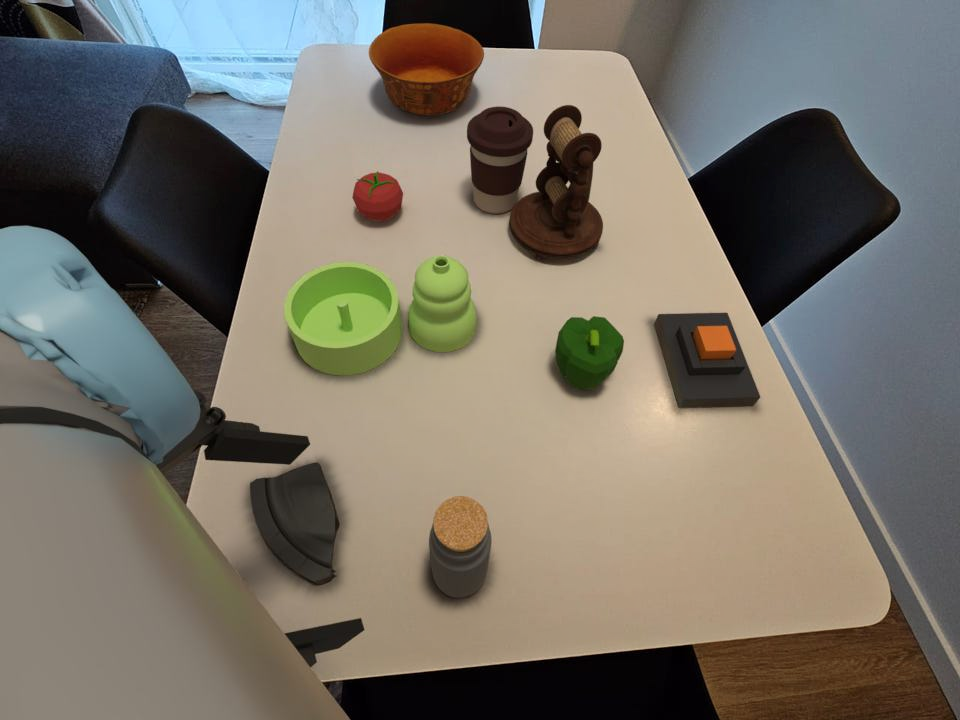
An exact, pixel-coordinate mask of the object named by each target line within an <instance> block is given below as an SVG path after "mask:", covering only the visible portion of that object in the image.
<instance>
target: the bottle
mask: <svg viewBox="0 0 960 720" xmlns="http://www.w3.org/2000/svg"><path fill="white" fill-rule="evenodd" d="M428 548H429V558H430V566H431V572H432V577H433V581H434V582H435V585H436V587H437V588H438V589H439V590H440V591H441V592H442V593H444V594H445V595H447V596H449V597H451V598H456V599H457V598H458V599H462V598H467V597H470V596H472V595H473V594H475V593H476V592H477V591H479V590H480V588H481V587H482V586H483V584H484V583H485V581H486V577H487V572H488V567H489V563H490V556H491V550H492V533H491V529H490V525H489V518H488V514H487V512H486V510H485V508H484V507H483V505H481V503H480V502H478V501H477V500H475V499H474V498H472V497H469V496H464V495H458V496H452V497H450V498H448V499H445V500H444V501H442V503H441V504H440V505H439V506H438V508H437V509H436V511H435V513H434V516H433V520H432V525H431V528H430V531H429V536H428Z"/></svg>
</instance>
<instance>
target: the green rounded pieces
mask: <svg viewBox="0 0 960 720" xmlns="http://www.w3.org/2000/svg"><path fill="white" fill-rule="evenodd" d="M471 296H472V286H471V282H470V280H469V272H468V270H467V268H466V267H465V266H464V265H463V264H462V262H460V261H459V260H457V259H456V258H453V257H450V256H447V255H443V254H439V255H436V256H433V257H430V258H427V259H426V260H424V261H423V262H422V263H421V264H420V265H419V266H418V268H416V270H415V274H414V281H413V286H412V297H413V299H412V300H411V303H410V304H409V308H408V313H407V316H408V317H407V318H408V327H409V328H408V329H409V333H410V336H411V337H412V339H413V341H415V342H416V344H417V345H419V346H420V347H422V348H423V349H426V350H428V351H431V352H435V353H450V352H454V351H457V350H461V349H462V348H463V347H465V346H467V345H468V344H469V343H470V342H471V341H472V340H473V338H474V336H475V334H476V331H477V322H478V321H477V320H478V317H477V316H478V315H477V307H476V305H475V302H474V300H473V299H472V297H471ZM400 307H401V306H400V300H399V293H398V291H397V287H396V285H395V284H394V282H393V281H392V279H391V278H389V276H388V275H387V274H386V273H384V272H382V271H381V270H379V269H378V268H376V267H374V266H371V265H368V264H365V263H361V262H351V261H347V262H345V261H344V262H335V263H329V264H326V265H323V266H320V267H317V268H315V269H312V270H311V271H308V272H307V273H305V274H304V275H303V276H301V277H300V278H299V279H298V280H297V281H296V282H295V283H294V285H293V286H292V287H291V288H290V290H289V292H288V293H287V295H286V298H285V300H284V307H283V312H284V318H285V322H286V324H287V327H288V329H289V332H290V335H291V337H292V340H293V342H294V345H295V347H296V350H297V352H298V354H299V356H300V357H301V358H302V360H303V361H304V362H305V363H306V364H307V365H309V366H310V367H311V368H312V369H314V370H317V371H319V372H321V373H324V374H328V375H332V376H341V377H343V376H355V375H358V374H363V373H366V372H369V371H372V370H374V369H376V368H377V367H379V366H380V365H382V364H383V363H385V362H386V361H387V360H388V359H389V358H390V357H392V356H393V354H394V352H396V350H397V348H398V347H399V344H400V342H401V339H402V334H403V325H402V323H403V322H402V316H401V308H400Z"/></svg>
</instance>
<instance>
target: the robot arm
mask: <svg viewBox="0 0 960 720" xmlns="http://www.w3.org/2000/svg"><path fill="white" fill-rule="evenodd" d="M186 379H187V378H185V376H184V375H183V374H182V373H181V371H180V370H179V368H178V367H177V366H176V364H175V363H174V362H173V360H172V359H171V358H170V356H169V355H168V353H167V352H166V351H165V350H164V348H163V347H162V346H161V345H160V343H159V342H158V340H156V338H155V336H153V334H152V333H151V332H150V331H149V330H148V328H147V327H146V326H145V325H144V324H143V322H142V321H141V319H139V317H138V316H137V315H136V314H135V313H134V311H133V310H132V309H131V308H130V307H129V305H128V304H127V303H126V302H125V300H124V299H123V298H122V297H121V296H120V294H119V293H118V292H117V291H116V290H115V289H114V288H112V287H111V286H110V284H108V283H107V281H106V280H105V279H104V277H102V276H101V274H100V273H99V271H97V269H96V268H95V267H94V266H93V265H92V263H91V262H90V260H89V259H88V258H87V257H86V256H85V255H84V254H83V253H82V252H81V250H79V249H78V248H77V247H76V246H75V245H74V244H73V243H72V242H70V241H69V240H68V239H67V238H65V237H64V236H62V235H60V234H58V233H56V232H54V231H53V230H50V229H46V228H41V227H36V226H31V225H12V226H8V227H4V228H0V720H351V719H350V717H349V716H348V715H347V713H346V712H345V710H344V709H343V708H342V707H341V705H340V704H339V702H338V701H337V700H336V699H335V698H334V696H333V694H331V692H330V691H329V690H328V689H327V687H326V686H325V684H324V683H323V682H322V681H321V679H320V678H319V676H318V675H317V674H316V673H315V672H314V670H313V669H312V667H314V665H316V664H317V663H318V661H317V657H316V655H319V654H322V653H326V652H330V651H335V650H338V649H340V648H342V647H343V646H345V645H346V644H347V643H349V642H350V641H351V640H353V639H354V638H356V637H357V636H358V635H360V634H361V633H363V632H364V631H365V627H364V622H363V620H362V617H358V618H355V619H349V620H344V621H338V622H333V623H330V624H324V625H319V626H314V627H310V628H304V629H301V630H295V631H289V632H284V631H283V630H282V628H281V627H280V625H279V624H278V623H277V622H276V620H275V619H274V618H273V616H272V615H271V614H270V613H269V611H268V610H267V609H266V607H265V606H264V605H263V604H262V602H261V601H260V599H259V598H258V597H257V596H256V594H255V593H254V591H252V589H251V588H250V587H249V585H248V584H247V583H246V582H245V580H244V579H243V577H242V576H241V575H240V573H239V572H238V571H237V569H236V568H235V567H234V565H232V563H231V562H230V561H229V559H228V558H227V557H226V555H225V554H224V553H223V551H222V550H221V548H220V547H219V546H218V545H217V543H216V542H215V541H214V540H213V538H212V537H211V535H209V533H208V531H206V529H205V528H204V527H203V525H202V524H201V522H200V521H199V520H198V519H197V517H196V516H195V515H194V514H193V512H192V511H191V509H190V508H189V507H188V506H187V504H186V503H185V502H184V500H183V499H182V498H181V496H180V495H179V494H178V493H177V491H176V489H174V487H173V486H172V484H171V483H170V482H169V480H167V478H166V477H165V475H166V474H167V473H168V472H170V471H171V470H172V469H174V468H175V467H177V466H178V465H179V464H180V463H182V462H184V461H185V460H186V459H187V458H189V457H190V456H192V455H193V454H195V452H197V451H198V450H200V449H201V448H202V447H203V446H205V448H204V450H203V454H204V459H205V461H214V462H215V461H216V462H218V461H219V462H234V463H235V462H237V463H252V464H253V463H254V464H271V465H287V466H288V465H290V466H291V465H292V464H293V463H294V462H295V461H296V460H297V459H298V457H300V456H301V455H302V454H303V453H304V452H305V451H306V450H307V448H308V447H310V445H311V443H310V439H309V436H308V435H300V434H291V433H280V432H270V431H263V430H261V429H260V426H259V425H257V424H255V423H252V422H244V421H235V420H229V419H227V416H226V413H225V411H224V409H222V408H221V407H217V406H211V407H209V409H207V408H206V406H205V404H206V403H207V397H206V395H205V394H204V393H202V392H201V391H199V390H193V388H192V387H191V385H190V384H189V382H188V381H187V380H186Z"/></svg>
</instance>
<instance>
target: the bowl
mask: <svg viewBox="0 0 960 720" xmlns="http://www.w3.org/2000/svg"><path fill="white" fill-rule="evenodd" d="M368 57H369V60H370V62H371V64H372V65H373V67H374V68H375V70H376V71H377V72H378V74H379V75H380V77H381V79H382V82H383V86H384V90H385V93H386V95H387V97H388V99H389V100H390V101H391V103H393V104H394V105H395V106H396V107H397V108H399V109H401V110H404V111H405V112H408V113H412V114H416V115H420V116H421V115H422V116H438V115H444V114H447V113H450V112H452V111H455V110H457V109H458V108H459V107H461V106H462V105H463V104H465V102H466V101H467V100H468V98H469V96H470V94H471V90H472V85H473V80H474V77H475V75H476V73H477V72H478V70H479V68H480V67H481V65H482V63H483V61H484V57H485V50H484V47H483V46H482V45H481V43H480V42H479V41H478V40H477V39H476V38H474V37H473V36H472V35H471V34H469V33H467V32H465V31H463V30H460V29H458V28H454V27H451V26H448V25H443V24H437V23H430V22H429V23H428V22H425V23H424V22H423V23H408V24H401V25H398V26H394V27H390V28H388V29H385V30H384V31H382V32H381V33H380V34H378V35H377V36H376V37H375V38H374V39H373V41H372V42H371V44H370V45H369V48H368Z"/></svg>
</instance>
